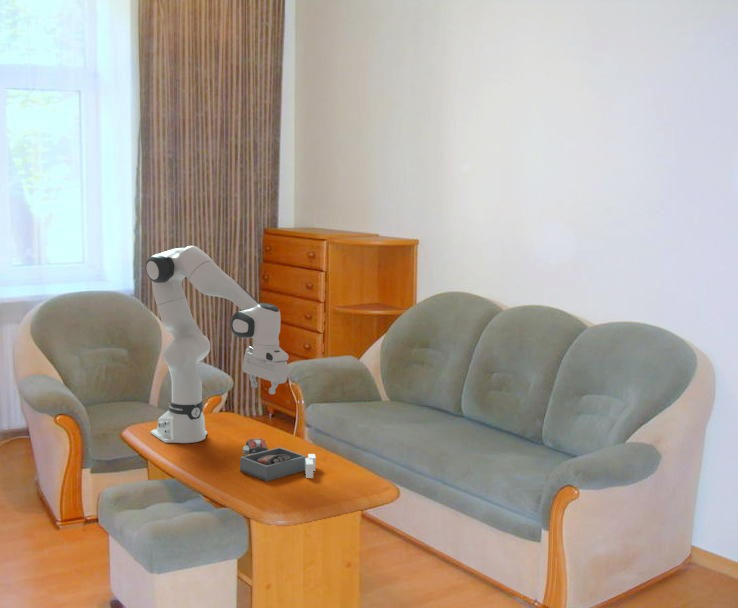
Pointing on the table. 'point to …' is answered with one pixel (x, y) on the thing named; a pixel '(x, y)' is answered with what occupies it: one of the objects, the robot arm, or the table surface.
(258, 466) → the grey tray
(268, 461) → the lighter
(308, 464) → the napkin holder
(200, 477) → the table surface
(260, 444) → the walkie-talkie
